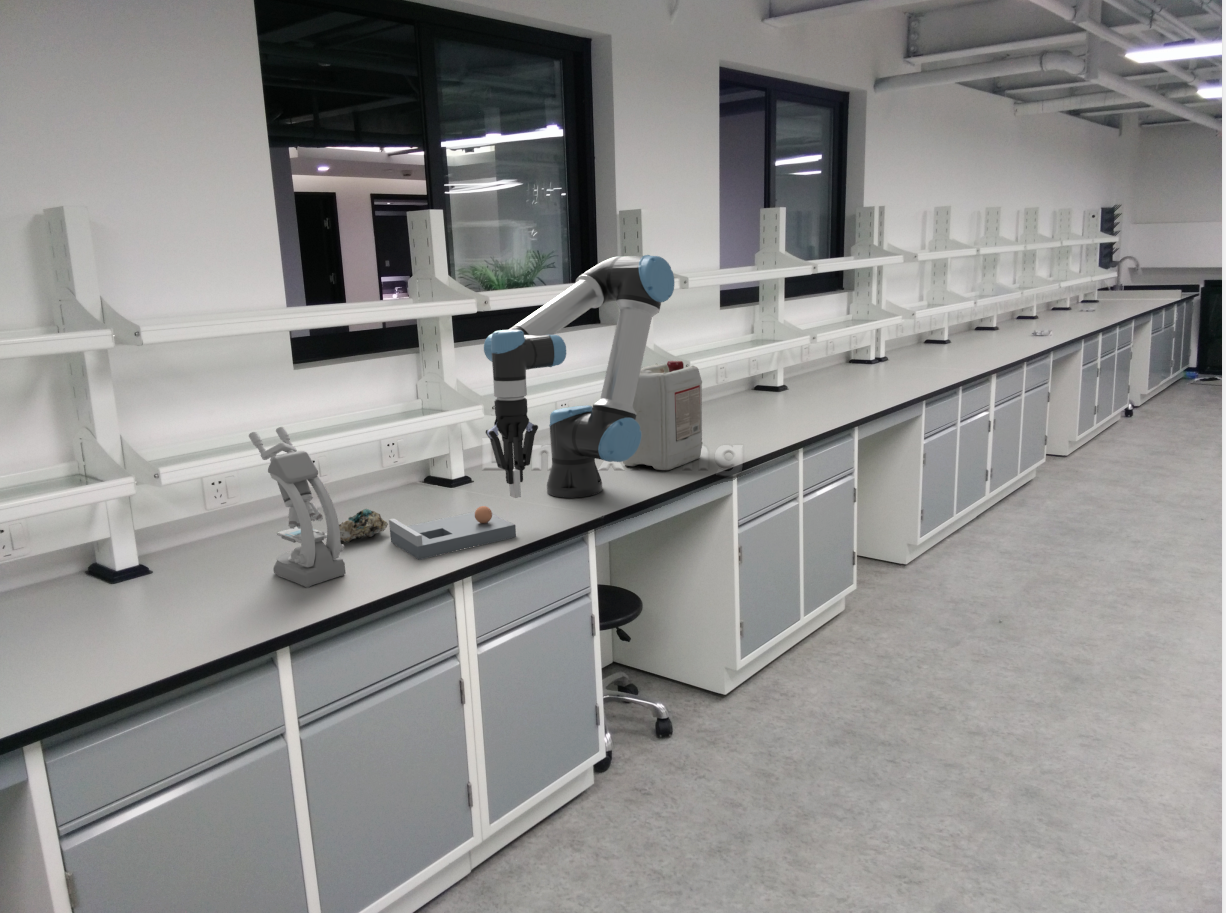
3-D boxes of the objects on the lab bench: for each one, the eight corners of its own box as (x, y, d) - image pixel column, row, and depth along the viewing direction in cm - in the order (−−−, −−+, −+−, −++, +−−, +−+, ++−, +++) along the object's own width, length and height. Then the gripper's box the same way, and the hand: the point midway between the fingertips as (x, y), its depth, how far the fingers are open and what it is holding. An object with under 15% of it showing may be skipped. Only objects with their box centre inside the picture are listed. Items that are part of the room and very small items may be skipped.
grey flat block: (484, 521, 220) (483, 500, 219) (516, 536, 208) (514, 514, 206) (391, 541, 207) (388, 519, 206) (418, 559, 194) (416, 536, 193)
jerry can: (657, 451, 289) (655, 358, 282) (708, 457, 278) (707, 360, 272) (614, 467, 270) (611, 368, 263) (667, 474, 259) (665, 371, 253)
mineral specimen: (375, 524, 218) (360, 497, 215) (396, 528, 212) (381, 500, 209) (335, 554, 211) (319, 526, 208) (356, 559, 205) (340, 530, 201)
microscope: (304, 557, 199) (288, 424, 192) (353, 575, 187) (337, 433, 180) (258, 571, 191) (239, 433, 184) (305, 590, 179) (287, 443, 172)
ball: (487, 519, 212) (486, 503, 211) (495, 523, 208) (494, 506, 208) (472, 522, 209) (471, 506, 209) (480, 526, 206) (478, 509, 205)
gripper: (527, 393, 214) (531, 488, 219) (477, 398, 207) (483, 497, 212) (543, 396, 208) (547, 495, 213) (492, 402, 201) (498, 504, 206)
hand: (515, 496), depth 213 cm, fingers closed
